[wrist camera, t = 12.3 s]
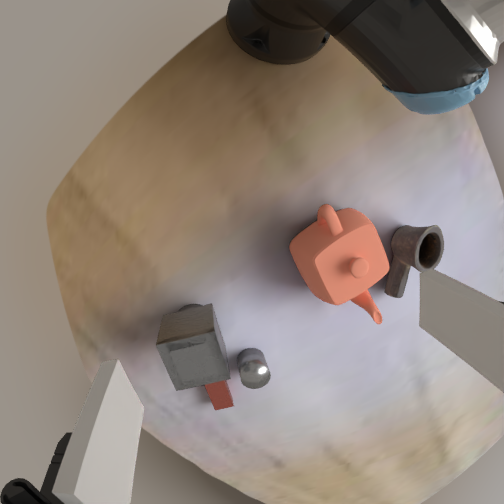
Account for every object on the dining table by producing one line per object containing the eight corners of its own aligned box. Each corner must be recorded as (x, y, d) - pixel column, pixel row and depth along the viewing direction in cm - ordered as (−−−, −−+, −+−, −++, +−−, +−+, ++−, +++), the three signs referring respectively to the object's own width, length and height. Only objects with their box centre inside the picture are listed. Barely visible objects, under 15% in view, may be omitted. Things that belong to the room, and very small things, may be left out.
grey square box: (163, 315, 41) (156, 345, 33) (212, 303, 41) (214, 331, 34) (179, 356, 43) (176, 390, 35) (225, 345, 43) (230, 378, 36)
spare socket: (234, 352, 47) (237, 370, 42) (261, 344, 48) (267, 362, 43) (240, 373, 48) (244, 391, 44) (266, 366, 49) (272, 384, 44)
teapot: (336, 181, 43) (373, 184, 33) (379, 280, 48) (415, 304, 38) (269, 220, 43) (289, 234, 33) (321, 318, 48) (348, 351, 38)
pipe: (372, 288, 48) (398, 307, 41) (392, 212, 46) (423, 220, 38) (399, 292, 50) (426, 309, 42) (419, 221, 47) (450, 229, 39)
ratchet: (169, 309, 44) (164, 332, 37) (208, 299, 44) (210, 321, 38) (206, 403, 49) (208, 431, 42) (240, 395, 50) (245, 422, 43)
